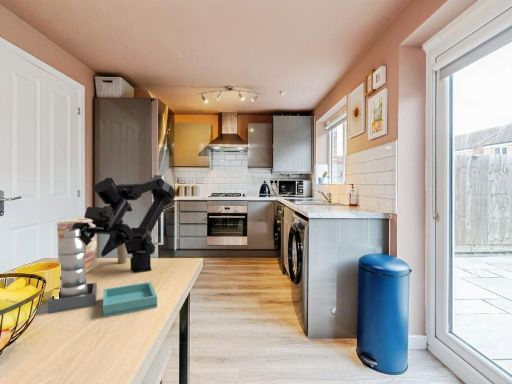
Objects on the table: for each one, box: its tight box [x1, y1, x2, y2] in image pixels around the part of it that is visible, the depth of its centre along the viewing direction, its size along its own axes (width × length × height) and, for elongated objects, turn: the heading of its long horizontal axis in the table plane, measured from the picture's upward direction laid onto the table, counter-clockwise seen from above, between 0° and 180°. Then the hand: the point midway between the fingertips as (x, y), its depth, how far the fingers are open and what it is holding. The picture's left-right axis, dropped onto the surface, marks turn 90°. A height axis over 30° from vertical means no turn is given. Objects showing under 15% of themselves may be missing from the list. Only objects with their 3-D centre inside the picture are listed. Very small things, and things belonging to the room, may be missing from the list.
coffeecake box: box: [56, 217, 98, 279], centre depth 108 cm, size 15×7×20 cm, turn 5°
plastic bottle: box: [57, 229, 88, 298], centre depth 81 cm, size 6×7×20 cm
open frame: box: [46, 281, 98, 314], centre depth 81 cm, size 11×11×3 cm
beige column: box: [116, 243, 128, 264], centre depth 120 cm, size 5×6×15 cm
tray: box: [102, 281, 158, 318], centre depth 80 cm, size 13×13×3 cm
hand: (88, 255), depth 86 cm, fingers open, 9 cm apart
